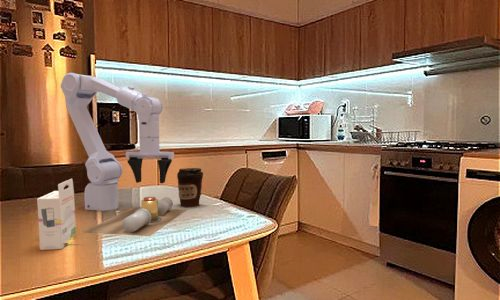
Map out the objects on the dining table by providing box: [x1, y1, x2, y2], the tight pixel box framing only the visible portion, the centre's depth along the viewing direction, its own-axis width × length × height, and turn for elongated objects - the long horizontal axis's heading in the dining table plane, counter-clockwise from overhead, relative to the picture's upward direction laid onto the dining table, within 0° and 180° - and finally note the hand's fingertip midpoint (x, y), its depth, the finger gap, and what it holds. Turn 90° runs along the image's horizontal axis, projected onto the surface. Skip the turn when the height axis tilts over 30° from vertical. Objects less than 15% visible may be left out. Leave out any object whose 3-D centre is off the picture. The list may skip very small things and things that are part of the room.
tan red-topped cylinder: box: [140, 196, 159, 222], centre depth 100 cm, size 4×4×6 cm
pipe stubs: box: [122, 196, 174, 233], centre depth 101 cm, size 5×23×5 cm, turn 170°
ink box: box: [36, 178, 77, 251], centre depth 84 cm, size 9×5×15 cm, turn 5°
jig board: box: [82, 206, 187, 237], centre depth 102 cm, size 18×26×1 cm
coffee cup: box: [176, 167, 204, 208], centre depth 118 cm, size 9×8×13 cm
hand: (150, 182), depth 110 cm, fingers open, 7 cm apart
